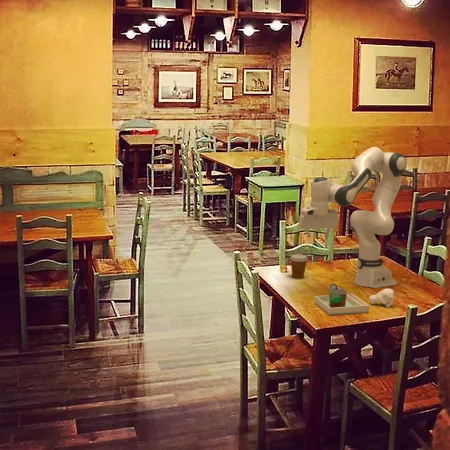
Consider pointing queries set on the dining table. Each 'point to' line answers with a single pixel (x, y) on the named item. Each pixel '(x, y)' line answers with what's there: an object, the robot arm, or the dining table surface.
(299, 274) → the disposable coffee cup
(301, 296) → the dining table surface
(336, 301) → the food container
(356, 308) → the walled box
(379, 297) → the white animal figurine
